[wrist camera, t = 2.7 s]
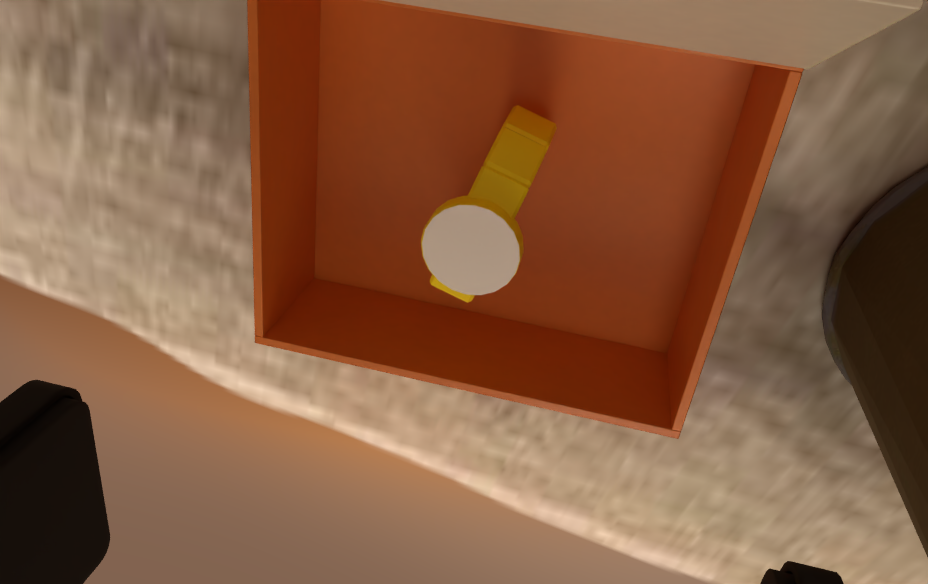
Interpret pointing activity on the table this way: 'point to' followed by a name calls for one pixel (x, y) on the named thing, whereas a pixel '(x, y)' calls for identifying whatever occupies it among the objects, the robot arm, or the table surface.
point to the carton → (540, 216)
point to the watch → (487, 213)
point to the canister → (888, 333)
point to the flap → (707, 23)
